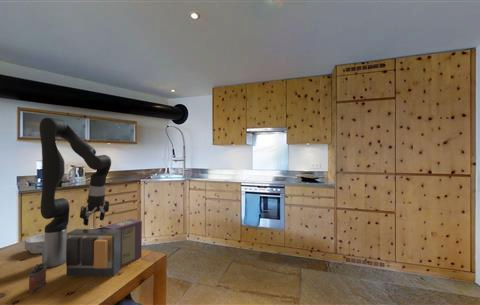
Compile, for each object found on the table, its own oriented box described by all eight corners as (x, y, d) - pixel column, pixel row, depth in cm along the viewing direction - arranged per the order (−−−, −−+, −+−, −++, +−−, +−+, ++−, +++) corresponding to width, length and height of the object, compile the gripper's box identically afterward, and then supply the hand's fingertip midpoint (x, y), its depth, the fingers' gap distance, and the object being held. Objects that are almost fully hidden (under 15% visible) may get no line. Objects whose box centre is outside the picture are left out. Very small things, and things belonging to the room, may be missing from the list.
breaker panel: (62, 278, 108) (63, 234, 109) (75, 269, 117) (75, 229, 117) (111, 279, 109) (111, 235, 109) (120, 270, 117) (120, 229, 117)
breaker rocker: (93, 268, 106) (94, 241, 106) (97, 265, 109) (97, 239, 109) (105, 268, 106) (105, 241, 106) (108, 265, 109) (108, 239, 109)
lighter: (40, 283, 105) (40, 260, 105) (48, 283, 105) (48, 260, 105) (25, 294, 97) (25, 269, 97) (34, 293, 97) (34, 269, 97)
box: (113, 270, 117) (113, 229, 117) (101, 266, 121) (102, 226, 121) (141, 257, 132) (141, 221, 132) (130, 253, 136) (130, 218, 136)
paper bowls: (18, 253, 135) (18, 239, 135) (48, 244, 149) (49, 231, 150) (34, 258, 130) (34, 243, 130) (64, 248, 144) (64, 234, 144)
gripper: (104, 188, 131) (101, 216, 133) (78, 193, 118) (75, 224, 120) (114, 192, 129) (110, 220, 131) (88, 198, 115) (85, 229, 117)
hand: (93, 222), depth 125 cm, fingers open, 8 cm apart
